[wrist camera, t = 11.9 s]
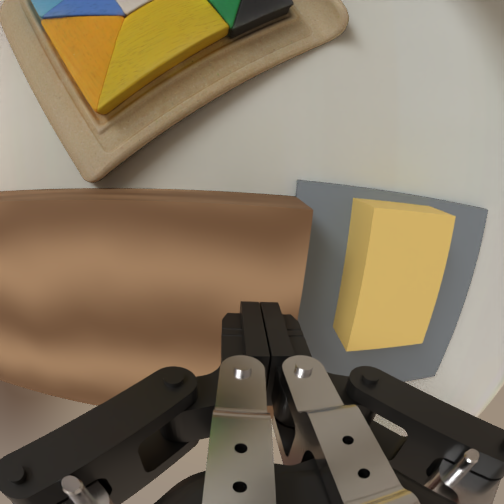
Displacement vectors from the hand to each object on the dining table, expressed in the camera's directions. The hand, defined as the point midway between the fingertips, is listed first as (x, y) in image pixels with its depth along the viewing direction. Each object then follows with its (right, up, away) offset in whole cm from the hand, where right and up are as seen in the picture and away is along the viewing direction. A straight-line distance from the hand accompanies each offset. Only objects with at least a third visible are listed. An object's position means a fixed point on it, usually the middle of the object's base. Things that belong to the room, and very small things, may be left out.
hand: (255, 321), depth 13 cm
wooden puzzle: (-7, +19, +2) cm, 20 cm away
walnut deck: (-9, 0, +7) cm, 11 cm away
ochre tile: (+9, +1, +6) cm, 11 cm away
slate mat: (+10, -1, +9) cm, 13 cm away
